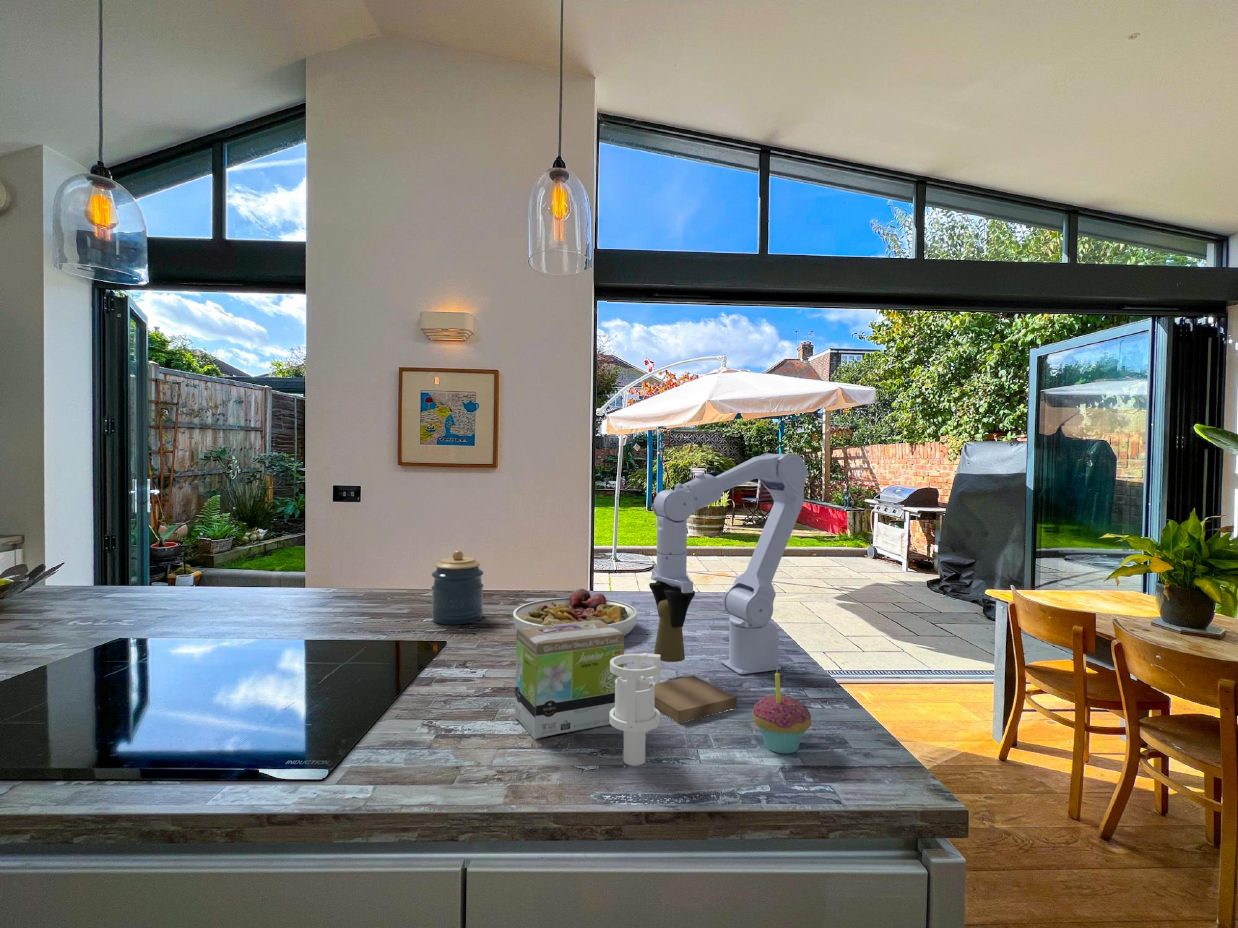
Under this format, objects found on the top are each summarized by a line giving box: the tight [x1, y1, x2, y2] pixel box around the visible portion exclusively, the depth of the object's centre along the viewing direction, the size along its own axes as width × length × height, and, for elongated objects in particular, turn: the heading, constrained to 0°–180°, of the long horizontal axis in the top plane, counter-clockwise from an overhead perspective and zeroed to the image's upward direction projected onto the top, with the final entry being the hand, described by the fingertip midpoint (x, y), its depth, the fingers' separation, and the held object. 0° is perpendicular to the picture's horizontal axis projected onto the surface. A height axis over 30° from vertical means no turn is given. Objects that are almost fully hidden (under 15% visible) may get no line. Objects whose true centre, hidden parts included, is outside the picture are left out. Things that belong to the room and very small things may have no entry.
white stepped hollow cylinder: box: [609, 652, 661, 767], centre depth 89 cm, size 7×7×15 cm
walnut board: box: [649, 675, 738, 724], centre depth 110 cm, size 12×12×2 cm
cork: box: [653, 599, 686, 663], centre depth 123 cm, size 6×6×11 cm
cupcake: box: [751, 669, 812, 754], centre depth 94 cm, size 9×8×12 cm
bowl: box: [512, 588, 638, 637], centre depth 155 cm, size 30×30×8 cm
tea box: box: [514, 620, 625, 740], centre depth 102 cm, size 15×10×15 cm, turn 117°
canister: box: [431, 550, 484, 625], centre depth 165 cm, size 13×13×18 cm
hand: (671, 622), depth 123 cm, fingers closed on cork, 5 cm apart
